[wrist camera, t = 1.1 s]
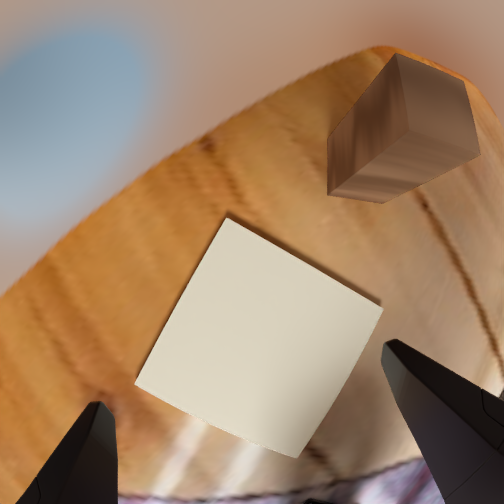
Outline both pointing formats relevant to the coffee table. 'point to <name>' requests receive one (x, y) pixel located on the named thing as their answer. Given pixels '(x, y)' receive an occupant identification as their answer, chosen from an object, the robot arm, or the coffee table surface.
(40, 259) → the coffee table surface
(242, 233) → the board
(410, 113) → the walnut block
